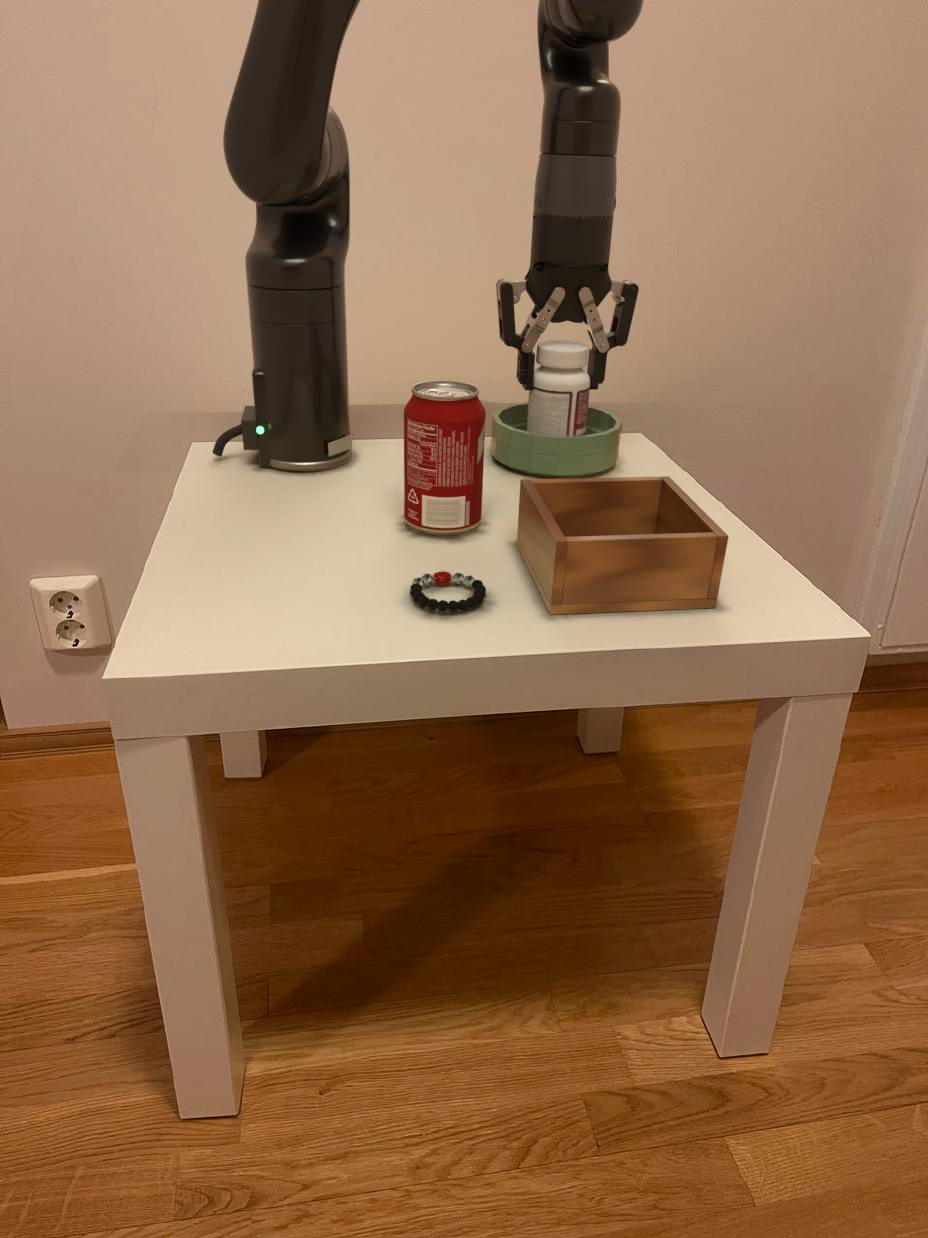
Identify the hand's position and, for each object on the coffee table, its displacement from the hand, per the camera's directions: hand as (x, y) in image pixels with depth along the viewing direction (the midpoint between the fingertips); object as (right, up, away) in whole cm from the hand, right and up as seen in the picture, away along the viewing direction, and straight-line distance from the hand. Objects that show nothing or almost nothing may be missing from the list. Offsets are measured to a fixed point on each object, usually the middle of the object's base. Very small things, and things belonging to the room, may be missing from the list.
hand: (559, 387), depth 93 cm
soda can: (-12, -16, -13) cm, 23 cm away
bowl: (0, -7, +4) cm, 8 cm away
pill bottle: (0, -6, +3) cm, 7 cm away
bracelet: (-11, -22, -26) cm, 36 cm away
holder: (+2, -20, -21) cm, 29 cm away
